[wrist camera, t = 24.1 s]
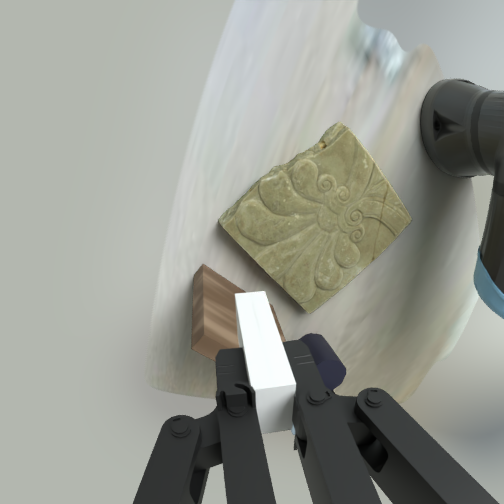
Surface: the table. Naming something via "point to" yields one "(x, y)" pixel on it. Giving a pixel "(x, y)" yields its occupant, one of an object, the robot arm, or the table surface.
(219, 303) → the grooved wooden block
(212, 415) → the robot arm
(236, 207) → the decorative tile
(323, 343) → the speaker
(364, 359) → the table surface
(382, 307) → the table surface
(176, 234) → the table surface
